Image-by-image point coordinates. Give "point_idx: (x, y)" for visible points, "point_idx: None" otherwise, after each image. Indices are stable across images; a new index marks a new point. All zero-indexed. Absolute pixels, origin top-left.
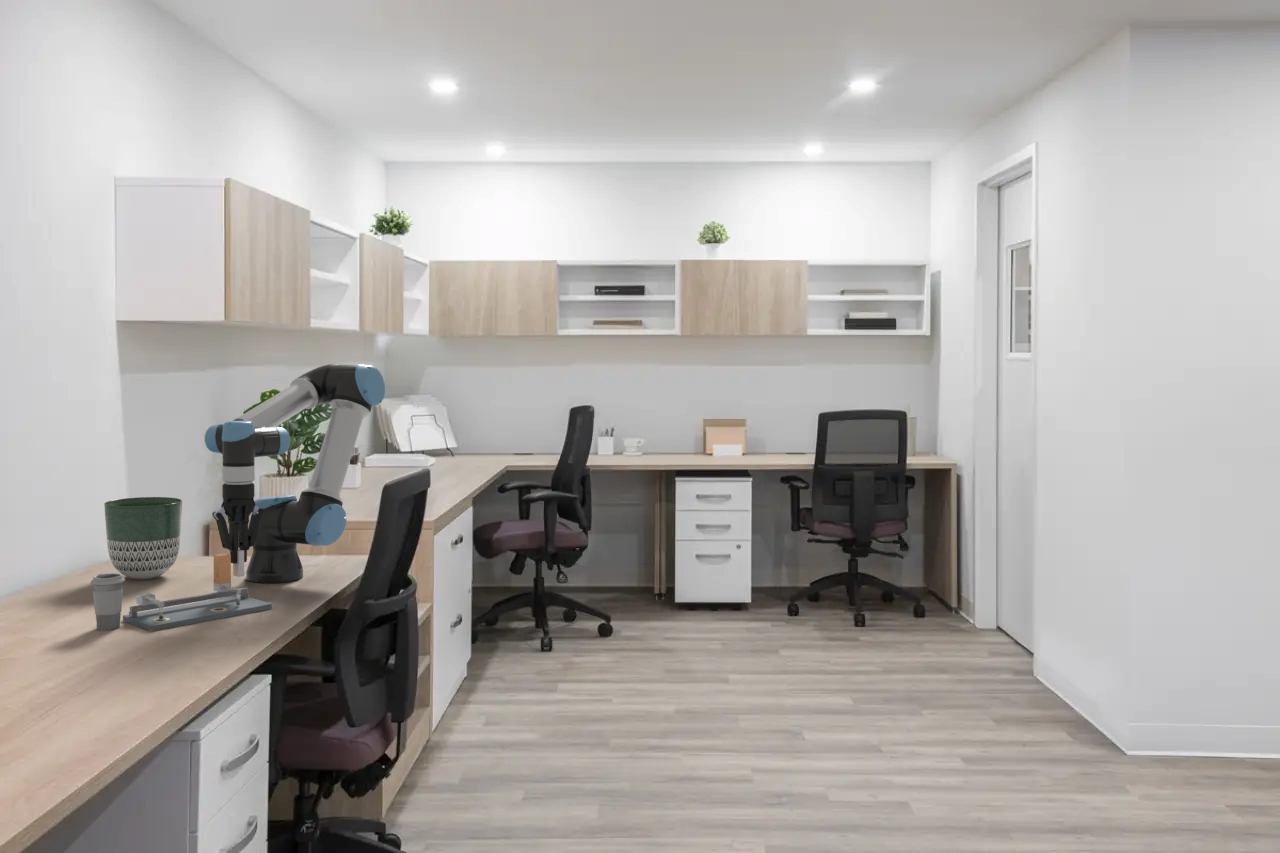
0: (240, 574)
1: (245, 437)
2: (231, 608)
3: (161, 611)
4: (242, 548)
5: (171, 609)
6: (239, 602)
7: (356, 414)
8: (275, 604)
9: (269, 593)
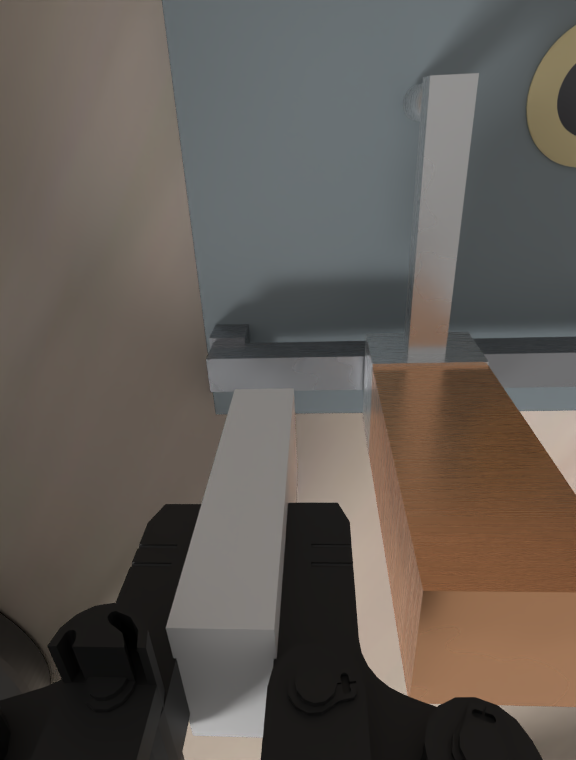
0: (272, 399)
1: None
2: (500, 64)
3: None
4: (169, 689)
5: None
6: (420, 84)
7: None
8: (92, 117)
9: (32, 431)
